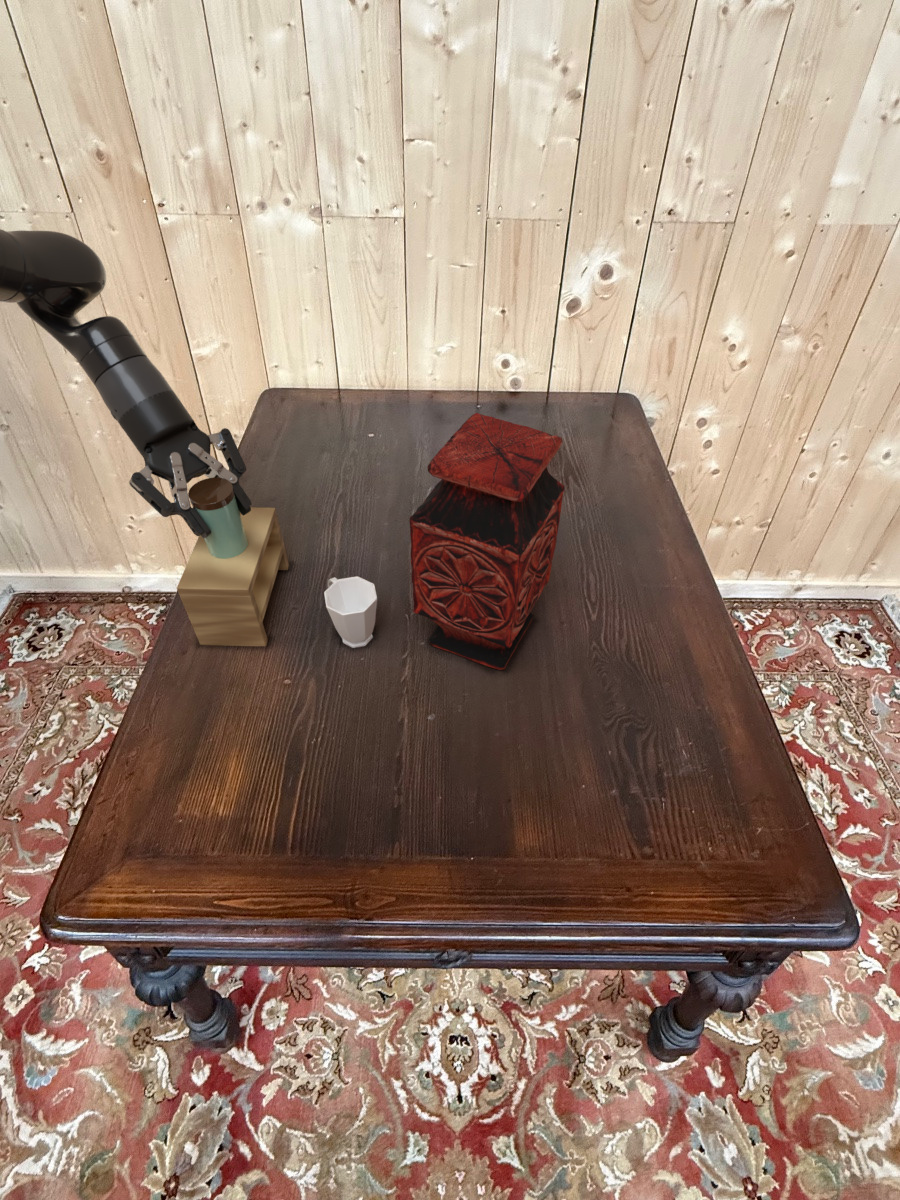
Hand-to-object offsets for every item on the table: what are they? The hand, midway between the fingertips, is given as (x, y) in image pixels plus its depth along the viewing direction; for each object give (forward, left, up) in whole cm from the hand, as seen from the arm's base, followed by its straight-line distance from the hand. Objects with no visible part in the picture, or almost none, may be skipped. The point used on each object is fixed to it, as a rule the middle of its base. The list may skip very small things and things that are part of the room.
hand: (227, 523), depth 87 cm
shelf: (0, +2, -16) cm, 16 cm away
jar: (0, +2, -5) cm, 5 cm away
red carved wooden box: (+15, -29, -16) cm, 36 cm away
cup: (+5, -14, -16) cm, 22 cm away
